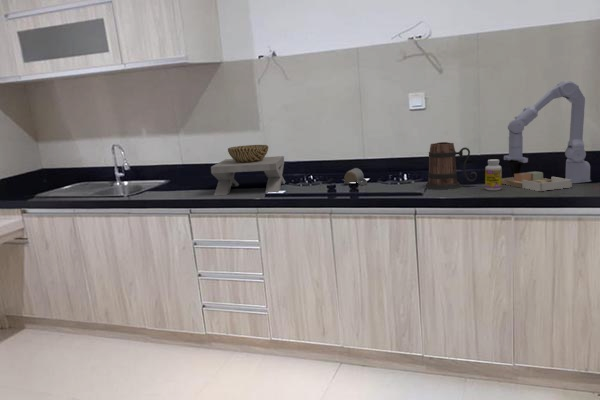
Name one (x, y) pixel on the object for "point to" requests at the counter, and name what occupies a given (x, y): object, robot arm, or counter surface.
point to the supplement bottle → (493, 175)
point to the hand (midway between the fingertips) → (515, 177)
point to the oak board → (519, 184)
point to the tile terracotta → (522, 177)
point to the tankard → (445, 167)
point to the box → (547, 184)
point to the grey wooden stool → (248, 168)
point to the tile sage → (536, 175)
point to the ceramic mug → (355, 176)
